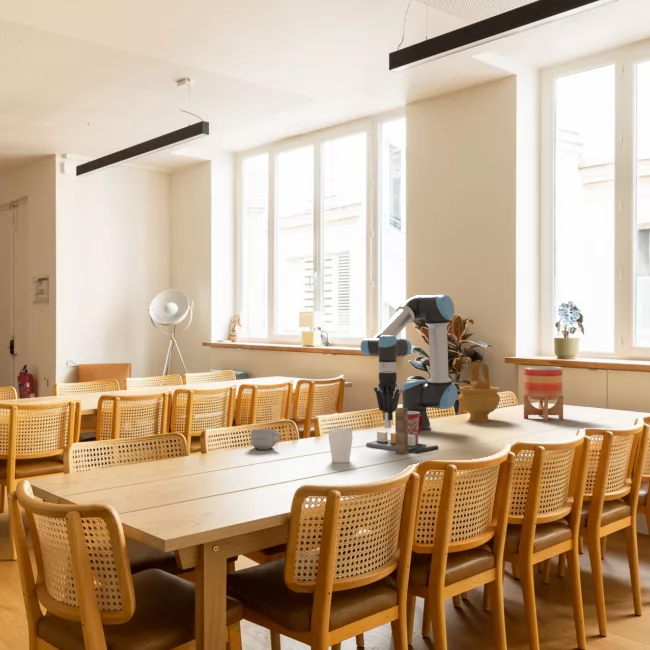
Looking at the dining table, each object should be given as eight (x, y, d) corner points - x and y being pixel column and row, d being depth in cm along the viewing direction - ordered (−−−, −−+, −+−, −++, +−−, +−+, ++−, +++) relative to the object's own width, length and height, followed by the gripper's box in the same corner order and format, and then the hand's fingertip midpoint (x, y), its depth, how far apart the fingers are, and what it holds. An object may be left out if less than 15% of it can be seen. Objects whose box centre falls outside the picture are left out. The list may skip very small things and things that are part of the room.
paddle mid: (393, 442, 301) (393, 432, 301) (401, 443, 299) (401, 433, 299) (390, 442, 300) (390, 433, 300) (398, 443, 297) (398, 434, 297)
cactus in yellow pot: (451, 421, 369) (451, 363, 368) (468, 416, 386) (468, 360, 385) (490, 424, 357) (490, 364, 356) (506, 419, 374) (505, 362, 373)
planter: (521, 415, 386) (521, 366, 386) (559, 416, 383) (559, 366, 383) (526, 421, 366) (526, 369, 366) (566, 421, 364) (566, 369, 363)
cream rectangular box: (407, 444, 297) (407, 434, 297) (415, 445, 294) (415, 435, 294) (404, 444, 295) (404, 435, 295) (412, 445, 293) (412, 436, 293)
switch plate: (382, 442, 311) (382, 438, 311) (426, 448, 297) (426, 444, 297) (366, 446, 302) (366, 442, 302) (410, 452, 288) (410, 448, 288)
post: (400, 452, 289) (400, 407, 289) (407, 453, 287) (407, 408, 286) (395, 453, 286) (395, 408, 286) (402, 454, 284) (402, 409, 284)
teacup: (245, 448, 299) (245, 429, 299) (264, 445, 307) (264, 426, 307) (268, 453, 289) (267, 433, 289) (287, 449, 297) (287, 430, 297)
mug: (409, 446, 301) (409, 414, 301) (394, 443, 309) (394, 412, 308) (430, 442, 309) (430, 411, 309) (415, 439, 316) (415, 409, 316)
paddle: (379, 440, 306) (379, 431, 306) (387, 441, 303) (387, 431, 303) (377, 440, 304) (377, 431, 304) (384, 442, 302) (384, 432, 302)
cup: (325, 460, 275) (325, 428, 275) (346, 457, 279) (346, 427, 279) (334, 464, 267) (334, 432, 267) (356, 462, 270) (356, 430, 270)
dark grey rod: (436, 448, 297) (436, 444, 297) (439, 448, 296) (439, 445, 296) (413, 453, 287) (413, 449, 287) (416, 453, 286) (416, 450, 286)
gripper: (369, 371, 303) (370, 427, 303) (395, 373, 294) (395, 430, 295) (380, 370, 308) (380, 425, 309) (405, 372, 300) (405, 428, 300)
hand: (388, 427), depth 302 cm, fingers closed
